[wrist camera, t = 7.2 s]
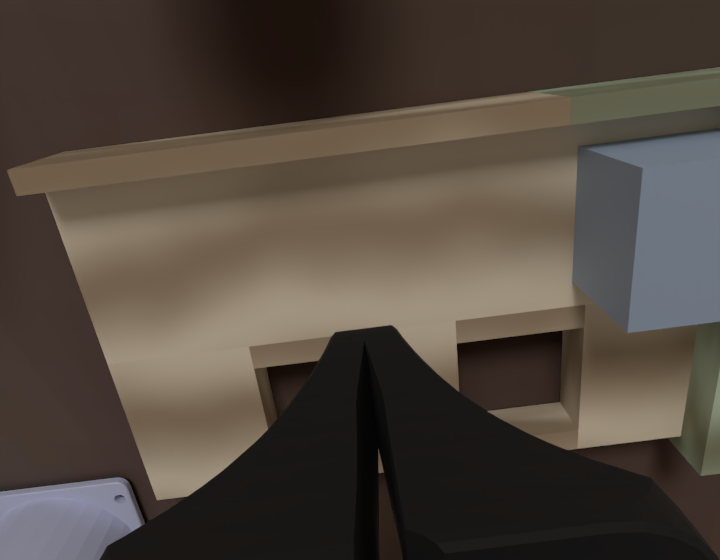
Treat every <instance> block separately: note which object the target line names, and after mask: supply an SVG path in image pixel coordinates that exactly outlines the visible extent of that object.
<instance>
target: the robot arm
mask: <svg viewBox="0 0 720 560" xmlns="http://www.w3.org/2000/svg"><path fill="white" fill-rule="evenodd" d="M378 449H379V453H380V457H381V462H382V466H383V471H384V475H385V480H386V484H387V488H388V493H389V497H390V502H391V506H392V510H393V515H394V519H395V523H396V528H397V532H398V537H399V541H400V546H401V552H402V557H403V560H719V559H718V557H717V555H716V554H715V553H714V551H713V550H712V549H711V548H710V546H709V545H708V544H707V542H706V541H705V540H704V539H703V537H702V536H701V535H700V533H699V532H698V531H697V529H696V528H695V527H694V526H693V524H692V523H691V522H690V521H689V520H688V518H687V517H686V516H685V515H684V514H683V512H682V511H681V510H680V509H679V508H678V506H677V505H676V504H675V503H674V502H673V501H672V500H671V499H670V498H669V497H668V496H667V495H666V494H665V493H664V492H663V491H662V490H661V489H660V487H659V486H658V485H657V484H656V483H655V482H654V481H653V480H652V479H651V478H649V477H646V476H642V475H639V474H636V473H633V472H630V471H627V470H623V469H620V468H617V467H614V466H611V465H608V464H604V463H601V462H598V461H595V460H592V459H589V458H586V457H583V456H580V455H578V454H575V453H573V452H570V451H568V450H566V449H563V448H561V447H558V446H556V445H553V444H551V443H548V442H546V441H544V440H542V439H539V438H537V437H535V436H533V435H531V434H529V433H526V432H525V431H523V430H521V429H519V428H517V427H515V426H513V425H511V424H509V423H507V422H505V421H503V420H502V419H500V418H498V417H496V416H495V415H493V414H491V413H489V412H488V411H486V410H485V409H483V408H482V407H480V406H479V405H477V404H476V403H474V402H472V401H471V400H469V399H468V398H466V397H465V396H464V395H463V394H461V393H460V392H459V391H457V390H456V389H455V388H454V387H452V386H451V385H450V384H449V383H448V382H446V381H445V380H444V379H443V378H442V377H441V376H440V375H438V374H437V373H436V372H435V371H434V370H433V369H432V368H431V367H430V366H429V365H428V364H427V363H426V362H425V361H424V360H423V359H422V358H421V357H420V356H419V355H418V354H417V353H416V352H415V351H414V350H413V349H412V347H411V346H410V345H409V344H408V343H407V342H406V341H405V339H404V338H403V337H402V335H401V334H400V333H399V331H398V330H397V329H396V328H395V327H394V326H392V325H388V326H380V327H372V328H364V329H356V330H348V331H340V332H335V333H334V334H333V335H332V337H331V338H330V340H329V342H328V344H327V346H326V348H325V350H324V352H323V354H322V356H321V358H320V359H319V361H318V363H317V365H316V366H315V368H314V369H313V371H312V372H311V374H310V376H309V377H308V379H307V380H306V382H305V383H304V385H303V386H302V388H301V389H300V390H299V392H298V393H297V394H296V396H295V397H294V398H293V400H292V401H291V402H290V404H289V405H288V406H287V408H286V409H285V410H284V412H283V413H282V414H281V415H280V416H279V418H278V419H277V420H276V421H275V422H274V423H273V424H272V426H271V427H270V428H269V429H268V430H267V431H266V432H265V433H264V434H263V435H262V436H261V437H260V438H259V439H258V440H257V441H256V442H255V443H254V444H253V445H251V446H250V447H249V448H248V449H247V450H246V451H245V452H243V453H242V454H241V455H240V456H239V457H238V458H237V459H236V460H234V461H233V462H232V463H231V464H230V465H229V466H228V467H226V468H225V469H224V470H223V471H222V472H220V473H219V474H218V475H216V476H215V477H214V478H212V479H211V480H210V481H208V482H207V483H206V484H205V485H203V486H202V487H200V488H199V489H198V490H196V491H195V492H193V493H192V494H191V495H189V496H188V497H186V498H185V499H183V500H182V501H181V502H179V503H178V504H176V505H175V506H173V507H171V508H170V509H168V510H167V511H165V512H164V513H162V514H160V515H159V516H157V517H155V518H154V519H152V520H150V521H149V522H147V523H145V522H144V519H143V516H142V514H141V511H140V509H139V506H138V503H137V501H136V498H135V496H134V493H133V490H132V488H131V485H130V483H129V482H128V481H127V480H126V479H124V478H108V479H100V480H92V481H84V482H76V483H68V484H59V485H51V486H43V487H35V488H27V489H19V490H11V491H2V492H0V560H379V469H378ZM119 495H122V496H124V497H121V496H119Z"/></svg>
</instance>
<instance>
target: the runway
mask: <svg viewBox="0 0 720 560" xmlns="http://www.w3.org/2000/svg"><path fill="white" fill-rule="evenodd" d="M716 128H720V67H717V68H709V69H702V70H694V71H686V72H679V73H671V74H663V75H655V76H648V77H640V78H632V79H624V80H617V81H609V82H601V83H593V84H586V85H578V86H570V87H562V88H555V89H547V90H539V91H531V92H524V93H516V94H508V95H501V96H493V97H485V98H477V99H470V100H462V101H454V102H446V103H439V104H431V105H423V106H415V107H408V108H400V109H392V110H384V111H377V112H369V113H361V114H353V115H346V116H338V117H330V118H322V119H315V120H307V121H299V122H292V123H284V124H276V125H268V126H261V127H253V128H245V129H237V130H230V131H222V132H214V133H206V134H199V135H191V136H183V137H175V138H168V139H160V140H152V141H144V142H137V143H129V144H121V145H114V146H106V147H98V148H90V149H83V150H75V151H67V152H62V153H59V154H56V155H53V156H49V157H46V158H43V159H40V160H37V161H34V162H31V163H27V164H24V165H21V166H18V167H15V168H12V169H9V170H7V172H8V175H9V177H10V180H11V182H12V185H13V188H14V190H15V193H16V195H17V196H22V195H29V194H37V193H46V196H47V199H48V201H49V204H50V207H51V210H52V212H53V215H54V218H55V221H56V223H57V226H58V229H59V232H60V234H61V237H62V240H63V243H64V246H65V248H66V251H67V254H68V257H69V259H70V262H71V265H72V268H73V270H74V273H75V276H76V279H77V281H78V284H79V287H80V290H81V292H82V295H83V298H84V301H85V303H86V306H87V309H88V312H89V314H90V317H91V320H92V323H93V325H94V328H95V331H96V334H97V336H98V339H99V342H100V345H101V347H102V350H103V353H104V356H105V358H106V361H107V364H108V367H109V369H110V372H111V375H112V378H113V380H114V383H115V386H116V389H117V391H118V394H119V397H120V400H121V402H122V405H123V408H124V411H125V413H126V416H127V419H128V422H129V424H130V427H131V430H132V433H133V435H134V438H135V441H136V444H137V446H138V449H139V452H140V455H141V457H142V460H143V463H144V466H145V468H146V471H147V474H148V477H149V479H150V482H151V485H152V488H153V491H154V493H155V496H156V499H157V500H162V499H170V498H178V497H187V496H189V495H191V494H192V493H193V492H195V491H196V490H198V489H199V488H200V487H202V486H203V485H205V484H206V483H207V482H208V481H210V480H211V479H212V478H214V477H215V476H216V475H218V474H219V473H220V472H222V471H223V470H224V469H225V468H226V467H228V466H229V465H230V464H231V463H232V462H233V461H234V460H236V459H237V458H238V457H239V456H240V455H241V454H242V453H243V452H245V451H246V450H247V449H248V448H249V447H250V446H251V445H253V444H254V443H255V442H256V441H257V440H258V439H259V438H260V437H261V436H262V435H263V434H264V433H265V432H266V431H267V430H268V429H269V428H270V427H271V426H272V424H273V423H274V422H275V421H276V420H277V419H278V417H277V413H276V408H275V404H274V399H273V395H272V390H271V386H270V381H269V377H268V372H267V368H266V367H272V366H280V365H288V364H296V363H304V362H312V361H319V359H320V358H321V356H322V354H323V352H324V350H325V348H326V346H327V344H328V342H329V340H330V338H331V337H332V335H333V334H334V333H335V332H340V331H348V330H356V329H364V328H372V327H380V326H388V325H392V326H394V327H395V328H396V329H397V330H398V331H399V333H400V334H401V335H402V337H403V338H404V339H405V341H406V342H407V343H408V344H409V345H410V346H411V347H412V349H413V350H414V351H415V352H416V353H417V354H418V355H419V356H420V357H421V358H422V359H423V360H424V361H425V362H426V363H427V364H428V365H429V366H430V367H431V368H432V369H433V370H434V371H435V372H436V373H437V374H438V375H440V376H441V377H442V378H443V379H444V380H445V381H446V382H448V383H449V384H450V385H451V386H452V387H454V388H455V389H456V390H457V391H459V377H458V359H457V343H465V342H473V341H481V340H489V339H497V338H505V337H513V336H521V335H529V334H537V333H545V332H553V331H561V330H563V332H562V358H561V384H560V402H557V403H549V404H541V405H532V406H524V407H516V408H508V409H500V410H492V411H488V412H489V413H491V414H493V415H495V416H496V417H498V418H500V419H502V420H503V421H505V422H507V423H509V424H511V425H513V426H515V427H517V428H519V429H521V430H523V431H525V432H526V433H529V434H531V435H533V436H535V437H537V438H539V439H542V440H544V441H546V442H548V443H551V444H553V445H556V446H558V447H561V448H563V449H566V450H572V449H580V448H588V447H597V446H605V445H613V444H621V443H629V442H638V441H646V440H654V439H662V438H668V439H669V441H670V442H671V443H672V444H673V445H674V446H675V447H676V448H677V450H678V451H679V452H680V453H681V454H682V455H683V456H684V458H685V459H686V460H687V461H688V462H689V463H690V464H691V465H692V467H693V468H694V469H695V470H696V471H697V472H698V473H699V475H700V476H703V475H712V474H720V322H712V323H704V324H696V325H688V326H680V327H672V328H664V329H656V330H648V331H640V332H632V333H627V332H626V331H625V330H624V329H623V328H621V327H620V326H619V325H618V324H617V323H616V322H615V321H614V320H613V319H612V318H611V317H610V316H609V315H607V314H606V313H605V312H604V311H603V310H602V309H601V308H600V307H599V306H598V305H597V304H596V303H594V302H593V301H592V300H591V299H590V298H589V297H588V296H587V295H586V294H585V293H584V292H583V291H582V290H580V289H579V288H578V287H577V286H576V285H575V284H574V283H573V282H572V272H573V249H574V226H575V204H576V181H577V158H578V146H583V145H591V144H599V143H607V142H615V141H622V140H630V139H638V138H646V137H653V136H661V135H669V134H677V133H685V132H692V131H700V130H708V129H716ZM378 469H379V473H383V472H384V471H383V466H382V462H381V457H380V453H379V449H378Z"/></svg>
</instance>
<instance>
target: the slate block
mask: <svg viewBox="0 0 720 560" xmlns="http://www.w3.org/2000/svg"><path fill="white" fill-rule="evenodd" d="M572 282H573V283H574V284H575V285H576V286H577V287H578V288H579V289H580V290H582V291H583V292H584V293H585V294H586V295H587V296H588V297H589V298H590V299H591V300H592V301H593V302H594V303H596V304H597V305H598V306H599V307H600V308H601V309H602V310H603V311H604V312H605V313H606V314H607V315H609V316H610V317H611V318H612V319H613V320H614V321H615V322H616V323H617V324H618V325H619V326H620V327H621V328H623V329H624V330H625V331H626V332H627V333H632V332H640V331H648V330H656V329H664V328H672V327H680V326H688V325H696V324H704V323H712V322H720V128H716V129H708V130H700V131H692V132H685V133H677V134H669V135H661V136H653V137H646V138H638V139H630V140H622V141H615V142H607V143H599V144H591V145H583V146H578V158H577V181H576V204H575V226H574V249H573V272H572Z"/></svg>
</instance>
